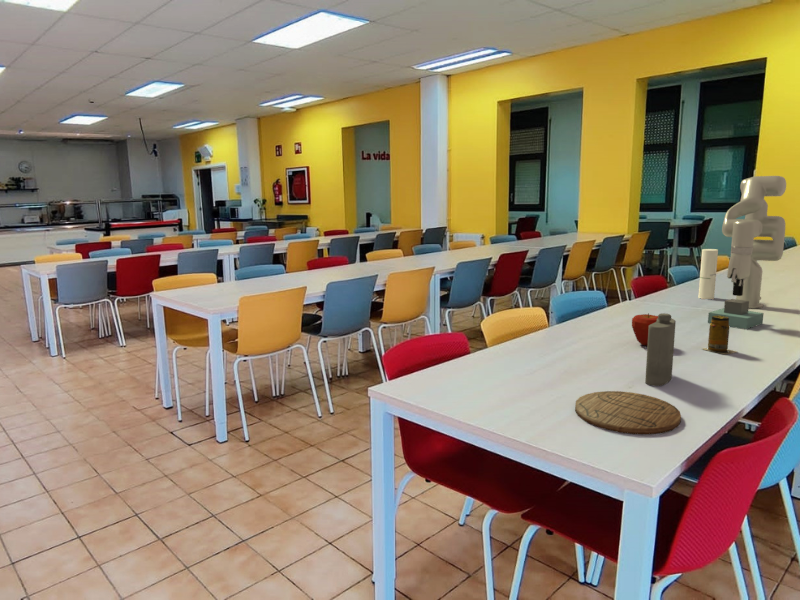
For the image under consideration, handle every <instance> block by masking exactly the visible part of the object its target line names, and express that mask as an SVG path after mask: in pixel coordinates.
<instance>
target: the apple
mask: <svg viewBox="0 0 800 600" xmlns="http://www.w3.org/2000/svg"><path fill="white" fill-rule="evenodd" d="M657 319H658V315H655V314H654V315H653V314H650V313H647V314H645V313H644V314H636V315H634V316H633V317H632V318H631V328H632V331H633V333H634V335H635V338H636V340H637V342H638V343H639V344H641V345H642V346H648V329H649V325H650V324H653V323H655V322H656V321H657Z"/></svg>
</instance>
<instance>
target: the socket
mask: <svg viewBox="0 0 800 600" xmlns="http://www.w3.org/2000/svg"><path fill="white" fill-rule="evenodd" d="M707 316H708V317H707V324H711V323H712V322H711V321H712V317H713V316H725V317H728V318H729V326H731V327H730V328H735V327H737V328H736V329H741V328H744V329H743V330H748V329H747V328H749V329H751V328H754V327H757V326H759V324H760V325H762V323H764V312H759V311H752V310H748V313H746V314H743V315H736V314H730V313H724V307H723V308H720V309H716V310H712V311H709V312H708V315H707ZM756 325H757V326H756ZM753 326H754V327H753ZM750 327H751V328H750Z"/></svg>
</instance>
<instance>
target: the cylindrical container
mask: <svg viewBox="0 0 800 600" xmlns="http://www.w3.org/2000/svg"><path fill="white" fill-rule="evenodd" d="M718 253H719V249H715V248H703V249H701V259H700V260H701V261H700V272H699V285H698V299H699V298H701V299H700V300H705V299H712V300H715V291H716V282H717V281H716V279H717V278H716V277H717V270H718V269H717V266H718V255H719V254H718Z"/></svg>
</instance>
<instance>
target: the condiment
mask: <svg viewBox="0 0 800 600" xmlns="http://www.w3.org/2000/svg"><path fill="white" fill-rule="evenodd" d="M711 322H712V323H709V330H708V340H707V341H708V343H707V347H706V348H705V347H703V348H702V350H704V351H708V352H713V353H717V354H722V355H730V354H735V353H738V351H736V350H733V349H728V347H729V338H730V327H729V318H728V317H725V316H713V317H712V321H711ZM707 348H708V349H707Z"/></svg>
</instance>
